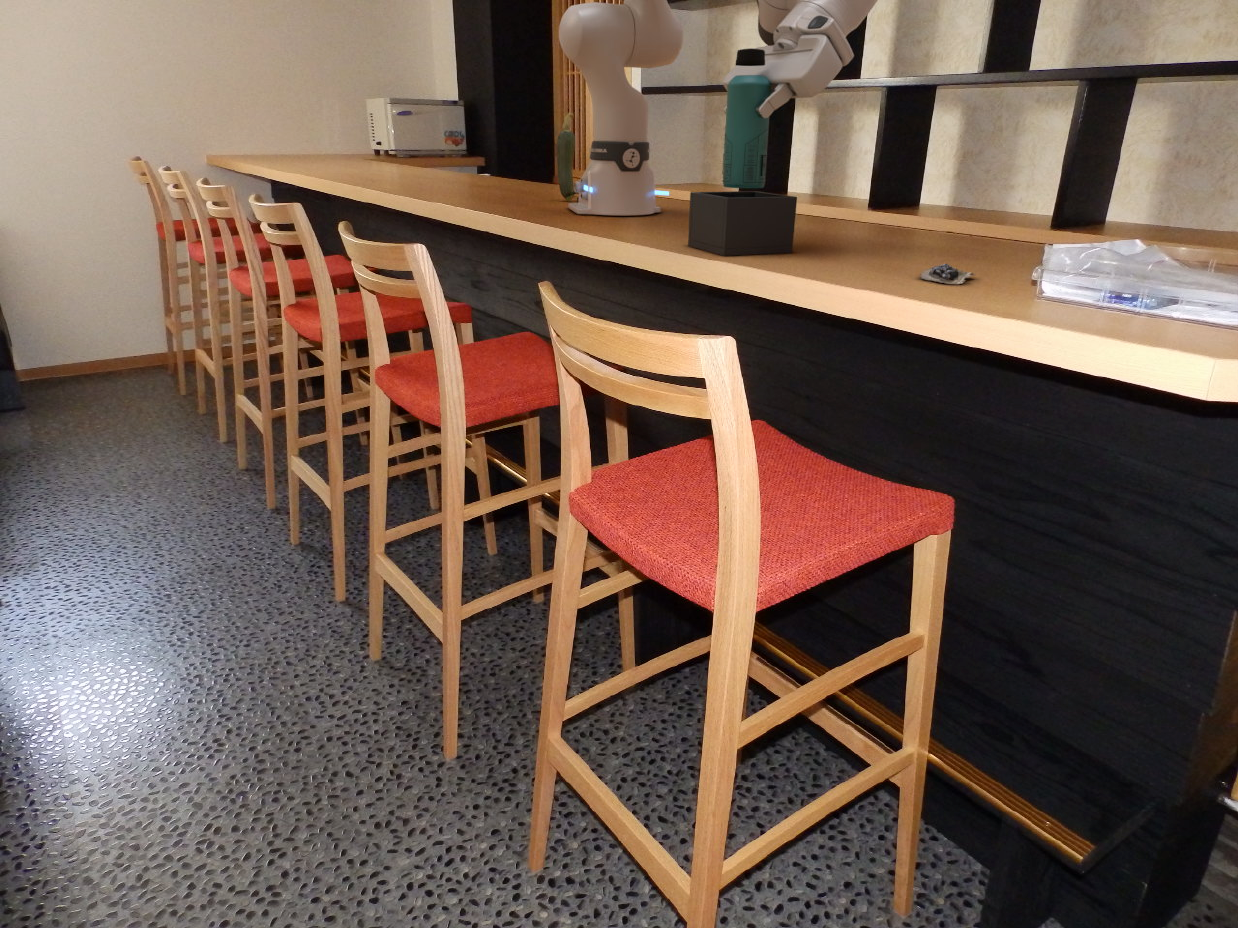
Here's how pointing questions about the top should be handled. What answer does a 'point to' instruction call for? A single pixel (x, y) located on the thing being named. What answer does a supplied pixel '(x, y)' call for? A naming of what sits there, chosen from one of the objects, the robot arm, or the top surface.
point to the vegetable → (566, 158)
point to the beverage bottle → (746, 126)
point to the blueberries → (945, 274)
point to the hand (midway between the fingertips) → (744, 115)
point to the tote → (741, 222)
